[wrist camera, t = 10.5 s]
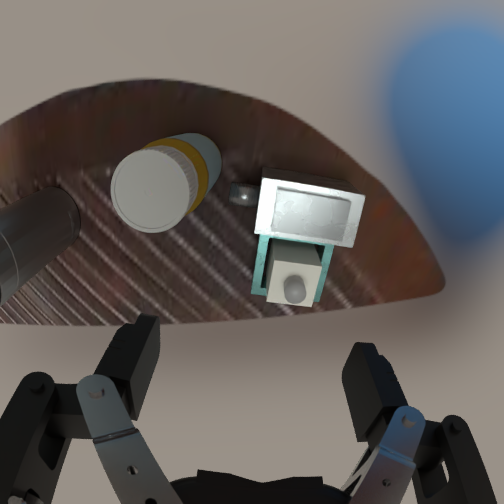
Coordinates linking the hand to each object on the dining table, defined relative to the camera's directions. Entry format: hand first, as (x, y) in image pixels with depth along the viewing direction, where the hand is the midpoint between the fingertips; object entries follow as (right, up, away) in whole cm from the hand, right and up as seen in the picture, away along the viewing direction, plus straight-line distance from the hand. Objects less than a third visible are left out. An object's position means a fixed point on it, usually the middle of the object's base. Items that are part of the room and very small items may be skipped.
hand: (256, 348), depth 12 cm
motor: (+4, +6, +26) cm, 27 cm away
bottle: (-7, +14, +23) cm, 28 cm away
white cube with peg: (+4, +3, +27) cm, 28 cm away
